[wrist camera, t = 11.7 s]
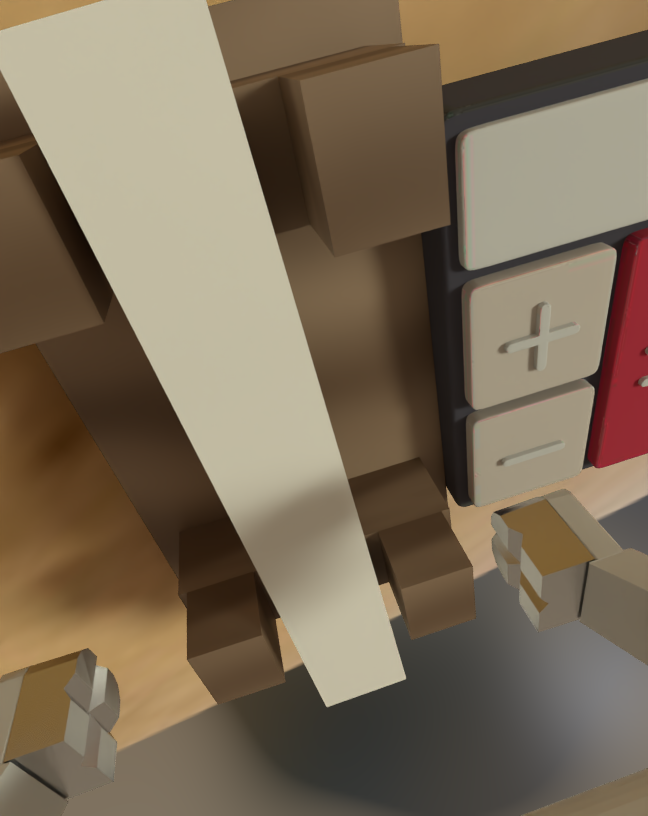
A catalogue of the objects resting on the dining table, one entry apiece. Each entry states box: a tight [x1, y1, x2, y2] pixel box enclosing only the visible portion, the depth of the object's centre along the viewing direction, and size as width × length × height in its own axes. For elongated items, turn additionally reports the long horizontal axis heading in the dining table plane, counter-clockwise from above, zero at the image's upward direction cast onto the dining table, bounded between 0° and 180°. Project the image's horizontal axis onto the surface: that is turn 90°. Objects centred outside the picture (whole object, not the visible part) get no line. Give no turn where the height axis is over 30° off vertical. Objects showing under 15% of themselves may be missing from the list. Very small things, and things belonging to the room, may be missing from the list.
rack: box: [0, 0, 476, 704], centre depth 16 cm, size 20×12×7 cm, turn 12°
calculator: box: [421, 30, 648, 507], centre depth 19 cm, size 11×4×15 cm
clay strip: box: [0, 0, 406, 707], centre depth 14 cm, size 20×3×3 cm, turn 14°
